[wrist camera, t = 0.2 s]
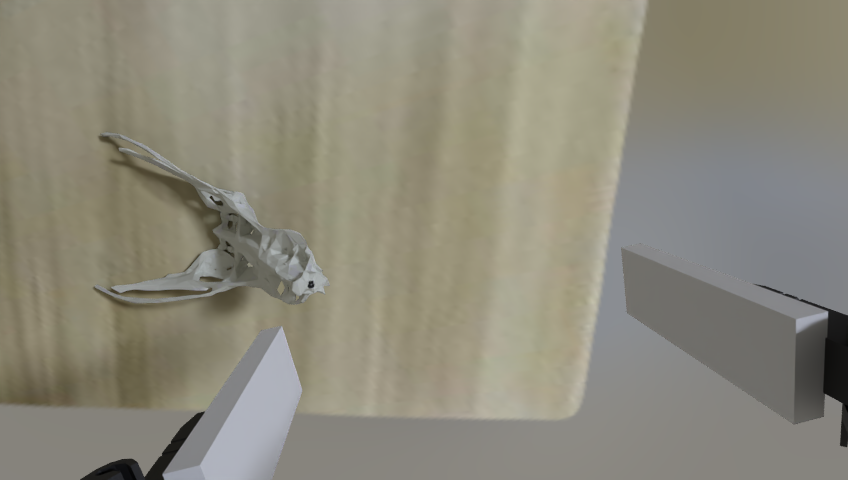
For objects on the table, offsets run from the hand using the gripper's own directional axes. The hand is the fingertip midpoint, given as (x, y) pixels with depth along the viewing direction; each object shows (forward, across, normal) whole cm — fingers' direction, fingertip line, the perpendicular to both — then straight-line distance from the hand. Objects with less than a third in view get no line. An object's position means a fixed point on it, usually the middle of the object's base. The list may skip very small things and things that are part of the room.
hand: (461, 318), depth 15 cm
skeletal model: (+28, -19, +2) cm, 34 cm away
